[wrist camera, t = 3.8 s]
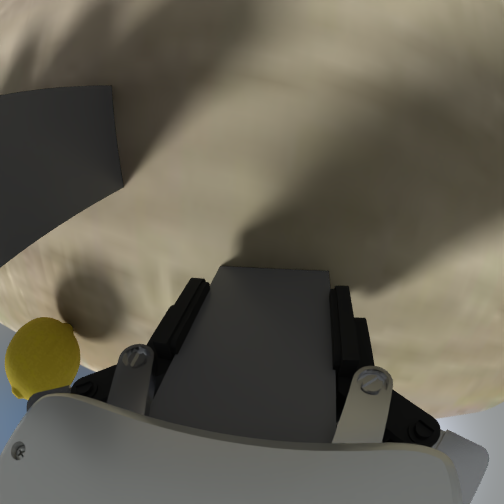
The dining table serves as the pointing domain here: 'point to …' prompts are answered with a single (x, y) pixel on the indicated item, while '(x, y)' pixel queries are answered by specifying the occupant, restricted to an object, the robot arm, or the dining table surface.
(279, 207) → the dining table surface
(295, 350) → the domino
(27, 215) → the domino
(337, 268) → the dining table surface
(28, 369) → the lemon
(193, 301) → the robot arm
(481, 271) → the dining table surface
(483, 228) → the dining table surface
